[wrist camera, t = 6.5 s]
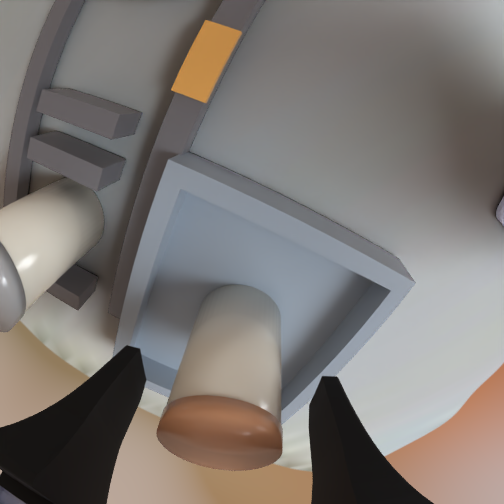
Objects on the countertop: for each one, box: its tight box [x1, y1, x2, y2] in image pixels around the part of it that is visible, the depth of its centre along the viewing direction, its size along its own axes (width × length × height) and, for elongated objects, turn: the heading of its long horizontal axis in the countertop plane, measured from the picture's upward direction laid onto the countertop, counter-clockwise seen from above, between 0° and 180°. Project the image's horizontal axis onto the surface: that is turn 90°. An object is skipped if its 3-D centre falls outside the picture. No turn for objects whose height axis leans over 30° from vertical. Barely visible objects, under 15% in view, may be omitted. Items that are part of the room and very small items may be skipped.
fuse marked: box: [157, 285, 283, 471], centre depth 11 cm, size 4×4×7 cm
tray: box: [112, 152, 415, 425], centre depth 14 cm, size 11×13×2 cm
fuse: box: [0, 178, 104, 332], centre depth 10 cm, size 4×4×7 cm
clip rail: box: [3, 0, 265, 319], centre depth 9 cm, size 10×26×2 cm, turn 154°
